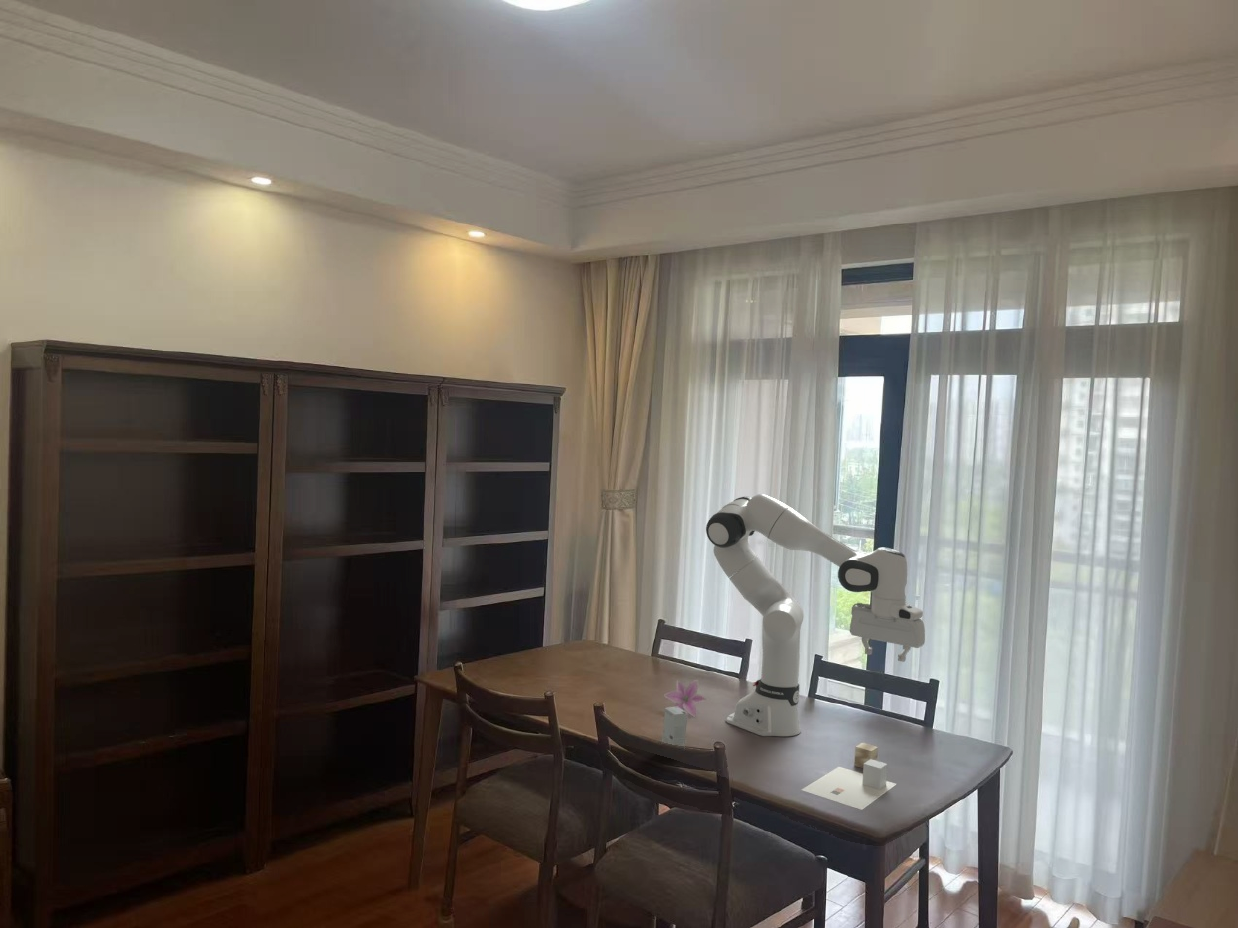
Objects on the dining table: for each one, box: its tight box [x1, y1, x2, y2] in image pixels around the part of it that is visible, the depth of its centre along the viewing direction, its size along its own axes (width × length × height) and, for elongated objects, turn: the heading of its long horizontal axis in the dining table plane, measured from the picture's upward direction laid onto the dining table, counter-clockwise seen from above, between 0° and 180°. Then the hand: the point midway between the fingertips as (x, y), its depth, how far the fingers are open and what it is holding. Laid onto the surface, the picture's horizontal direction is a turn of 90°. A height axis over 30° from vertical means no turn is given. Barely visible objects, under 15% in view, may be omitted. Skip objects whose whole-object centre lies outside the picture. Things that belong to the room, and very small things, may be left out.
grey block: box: [862, 759, 888, 790], centre depth 225 cm, size 4×4×6 cm
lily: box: [663, 678, 707, 718], centre depth 277 cm, size 12×12×10 cm
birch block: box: [853, 742, 879, 769], centre depth 238 cm, size 4×4×6 cm
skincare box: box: [661, 706, 689, 747], centre depth 240 cm, size 6×4×12 cm
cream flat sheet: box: [801, 766, 897, 811], centre depth 223 cm, size 16×22×1 cm
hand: (884, 657), depth 241 cm, fingers open, 8 cm apart
